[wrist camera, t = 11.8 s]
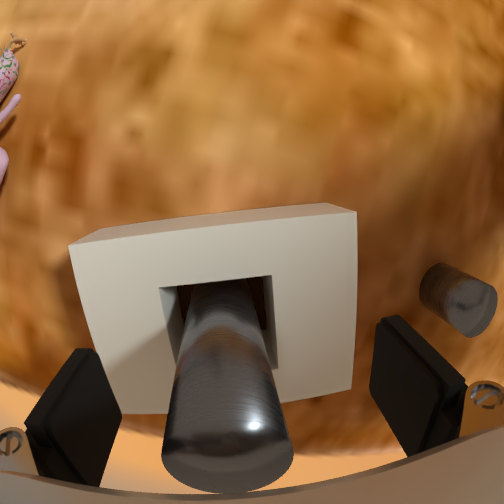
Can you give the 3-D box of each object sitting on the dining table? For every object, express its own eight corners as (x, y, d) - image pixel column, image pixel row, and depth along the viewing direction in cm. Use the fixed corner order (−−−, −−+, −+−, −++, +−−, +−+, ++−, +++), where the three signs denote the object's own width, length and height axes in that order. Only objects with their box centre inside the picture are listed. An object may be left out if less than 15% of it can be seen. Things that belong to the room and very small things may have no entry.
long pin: (247, 264, 17) (292, 410, 6) (253, 319, 17) (293, 485, 7) (187, 271, 16) (144, 423, 6) (196, 325, 17) (179, 495, 7)
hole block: (325, 202, 16) (356, 211, 12) (328, 350, 18) (351, 389, 15) (100, 228, 15) (68, 245, 12) (136, 372, 18) (120, 413, 14)
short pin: (456, 260, 18) (501, 280, 14) (451, 303, 19) (491, 329, 14) (421, 266, 18) (465, 290, 13) (417, 312, 19) (456, 343, 14)
